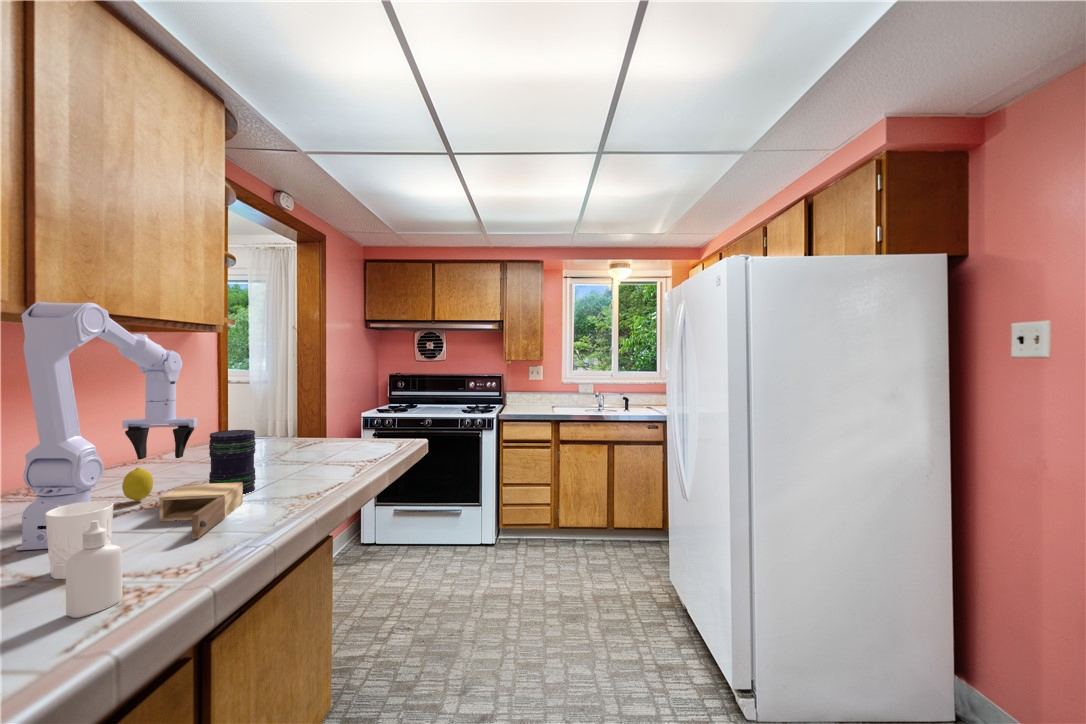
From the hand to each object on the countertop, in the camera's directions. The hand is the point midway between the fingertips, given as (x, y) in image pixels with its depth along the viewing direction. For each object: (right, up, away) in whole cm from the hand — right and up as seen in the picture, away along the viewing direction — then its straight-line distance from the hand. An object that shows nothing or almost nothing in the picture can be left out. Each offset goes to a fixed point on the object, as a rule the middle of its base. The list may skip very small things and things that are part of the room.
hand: (160, 458), depth 115 cm
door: (+25, -10, -18) cm, 32 cm away
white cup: (+16, -11, -37) cm, 42 cm away
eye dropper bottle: (+29, -11, -49) cm, 58 cm away
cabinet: (+16, -10, -8) cm, 21 cm away
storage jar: (+12, -10, +7) cm, 18 cm away
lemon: (-4, -10, -2) cm, 11 cm away
